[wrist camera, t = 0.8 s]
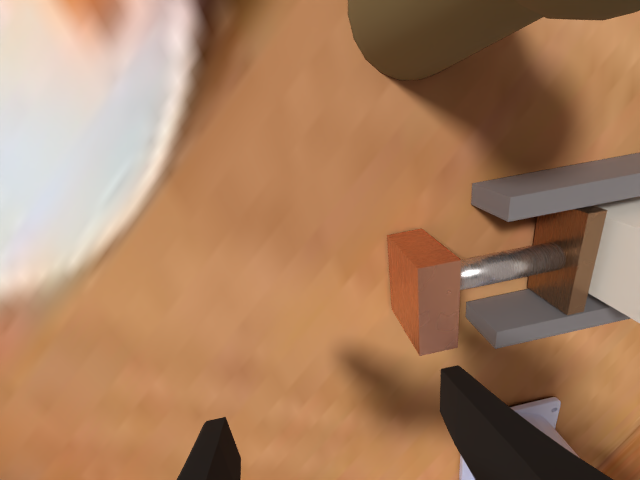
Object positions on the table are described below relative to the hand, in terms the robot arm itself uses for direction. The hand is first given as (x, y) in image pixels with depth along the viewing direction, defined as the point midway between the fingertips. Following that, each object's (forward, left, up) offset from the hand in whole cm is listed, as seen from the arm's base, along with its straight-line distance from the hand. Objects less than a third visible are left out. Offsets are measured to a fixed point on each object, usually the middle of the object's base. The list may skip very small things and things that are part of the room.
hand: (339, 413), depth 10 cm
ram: (0, -10, -8) cm, 13 cm away
